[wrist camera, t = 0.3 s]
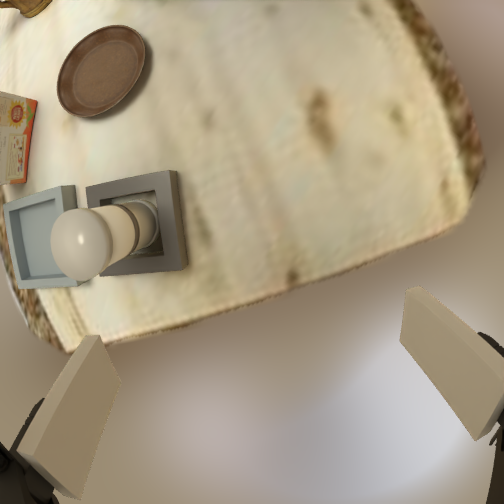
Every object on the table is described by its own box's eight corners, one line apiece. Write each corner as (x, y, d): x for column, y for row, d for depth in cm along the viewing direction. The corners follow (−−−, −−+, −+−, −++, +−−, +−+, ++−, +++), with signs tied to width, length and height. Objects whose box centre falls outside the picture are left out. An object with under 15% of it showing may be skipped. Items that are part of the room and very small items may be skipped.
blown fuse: (115, 203, 37) (45, 215, 22) (158, 196, 36) (98, 203, 22) (122, 249, 38) (58, 282, 24) (165, 244, 38) (111, 279, 23)
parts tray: (16, 202, 37) (3, 204, 34) (74, 185, 36) (60, 185, 33) (31, 282, 40) (18, 288, 37) (89, 278, 39) (77, 286, 36)
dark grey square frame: (97, 186, 36) (85, 187, 33) (176, 171, 36) (169, 170, 33) (110, 270, 39) (99, 276, 36) (188, 263, 38) (182, 270, 35)
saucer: (165, 32, 32) (160, 24, 29) (131, 125, 35) (122, 122, 32) (86, 33, 31) (78, 27, 29) (55, 116, 34) (45, 113, 32)
